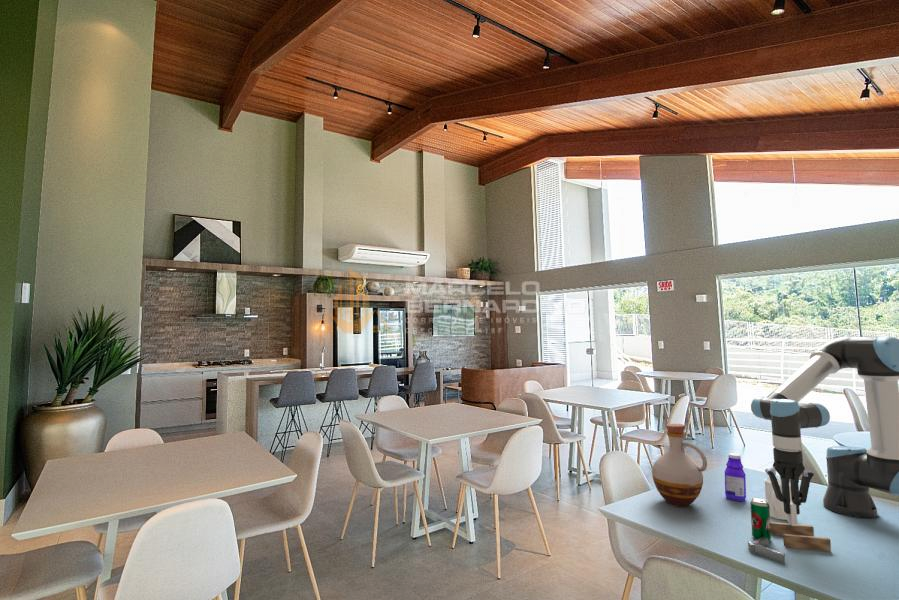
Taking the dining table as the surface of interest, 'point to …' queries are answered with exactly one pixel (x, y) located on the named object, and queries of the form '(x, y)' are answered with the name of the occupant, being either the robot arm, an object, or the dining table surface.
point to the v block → (765, 550)
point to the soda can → (760, 518)
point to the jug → (678, 470)
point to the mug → (775, 500)
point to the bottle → (735, 478)
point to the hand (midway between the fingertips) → (792, 524)
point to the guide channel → (800, 536)
